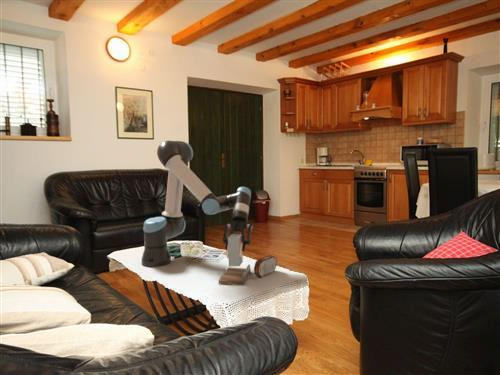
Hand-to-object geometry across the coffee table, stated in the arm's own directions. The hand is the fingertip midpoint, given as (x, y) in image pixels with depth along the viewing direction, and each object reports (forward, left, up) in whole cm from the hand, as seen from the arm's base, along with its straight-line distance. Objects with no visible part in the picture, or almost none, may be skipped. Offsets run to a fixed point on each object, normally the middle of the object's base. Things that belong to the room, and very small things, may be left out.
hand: (233, 256), depth 158 cm
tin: (+2, +16, -11) cm, 20 cm away
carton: (-3, +3, -4) cm, 6 cm away
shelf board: (-3, +2, -11) cm, 12 cm away
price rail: (+1, +6, -9) cm, 11 cm away
